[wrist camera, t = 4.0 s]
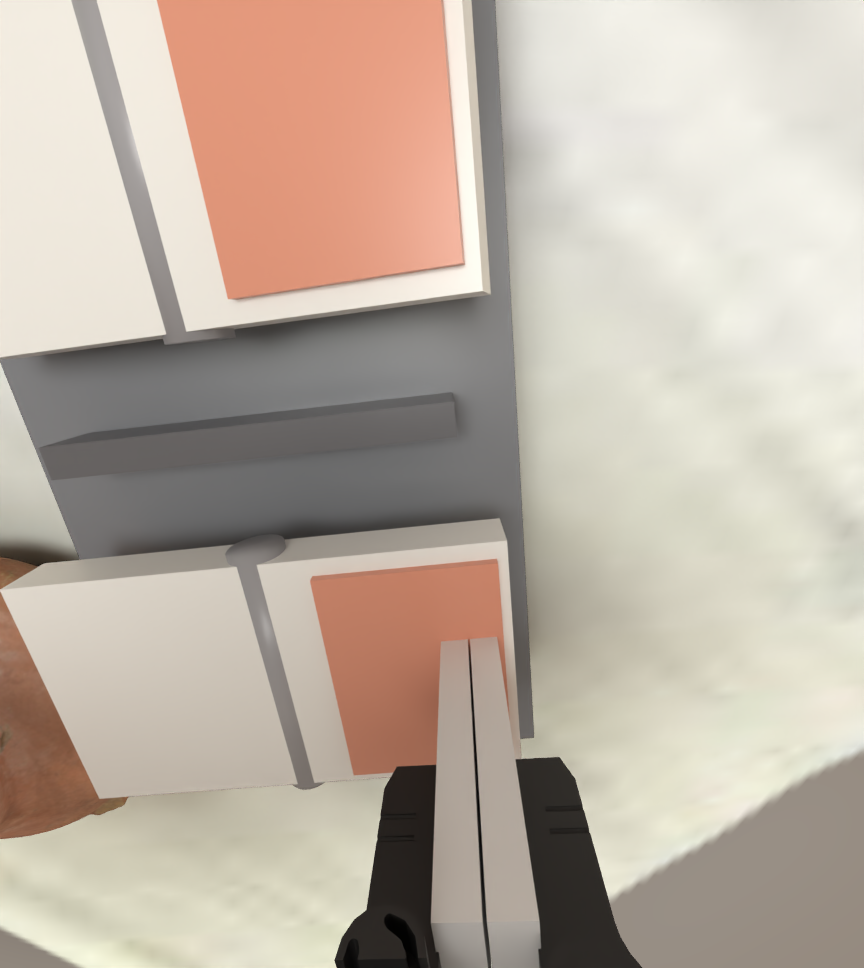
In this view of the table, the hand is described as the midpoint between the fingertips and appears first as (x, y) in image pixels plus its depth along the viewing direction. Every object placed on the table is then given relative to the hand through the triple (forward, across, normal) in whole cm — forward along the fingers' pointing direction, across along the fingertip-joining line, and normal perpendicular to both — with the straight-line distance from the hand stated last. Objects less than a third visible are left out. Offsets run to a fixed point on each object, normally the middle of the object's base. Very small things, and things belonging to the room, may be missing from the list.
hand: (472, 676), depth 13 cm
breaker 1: (+1, -6, +14) cm, 15 cm away
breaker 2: (+1, -6, 0) cm, 6 cm away
